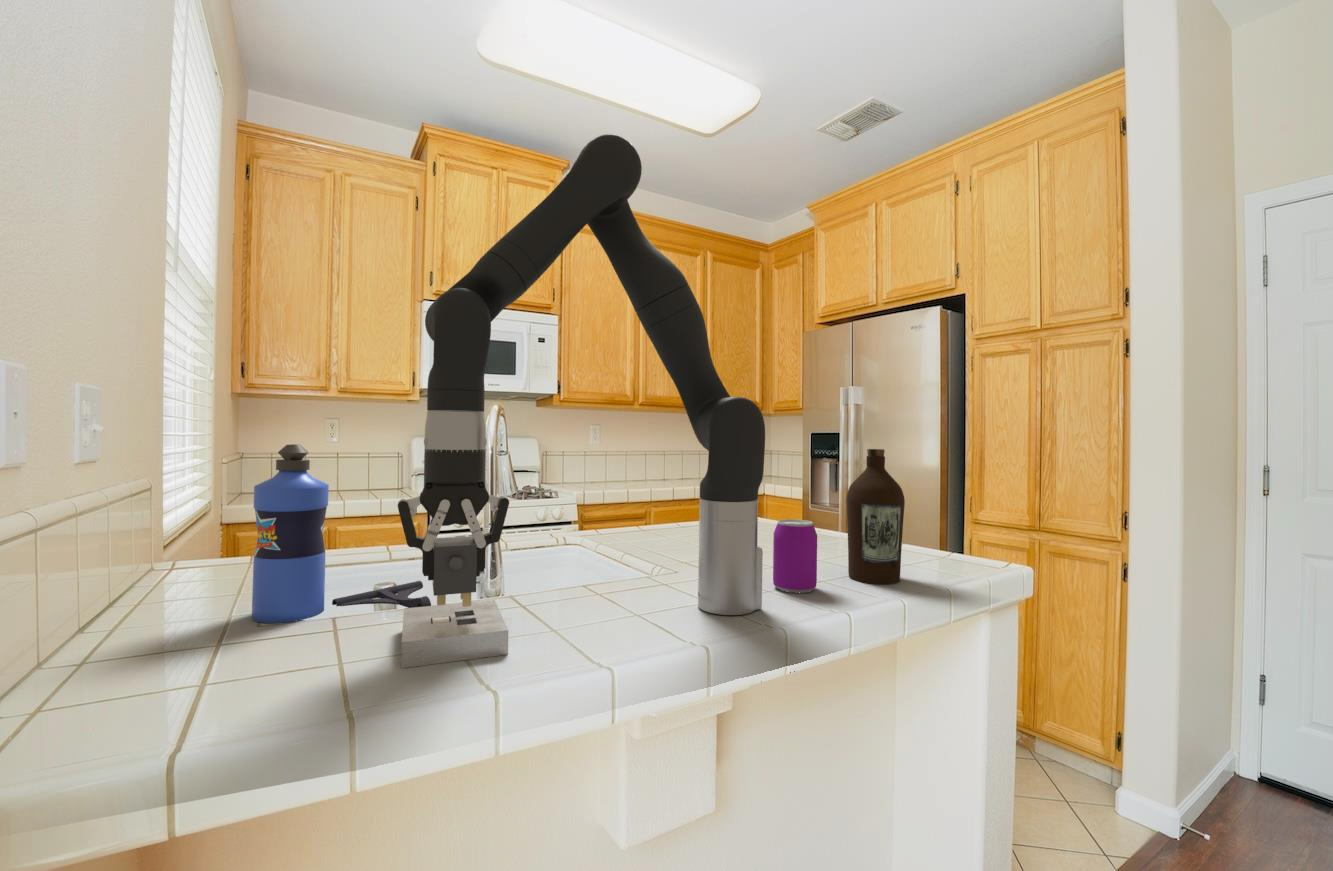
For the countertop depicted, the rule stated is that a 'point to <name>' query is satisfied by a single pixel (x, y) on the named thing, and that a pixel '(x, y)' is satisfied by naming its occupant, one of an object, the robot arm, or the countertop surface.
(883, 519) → the olive oil
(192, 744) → the countertop surface
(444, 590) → the plug
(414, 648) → the socket plate
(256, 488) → the blue detergent bottle
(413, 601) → the bracket
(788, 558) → the beverage can
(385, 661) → the countertop surface
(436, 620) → the earth shutter
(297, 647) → the countertop surface
